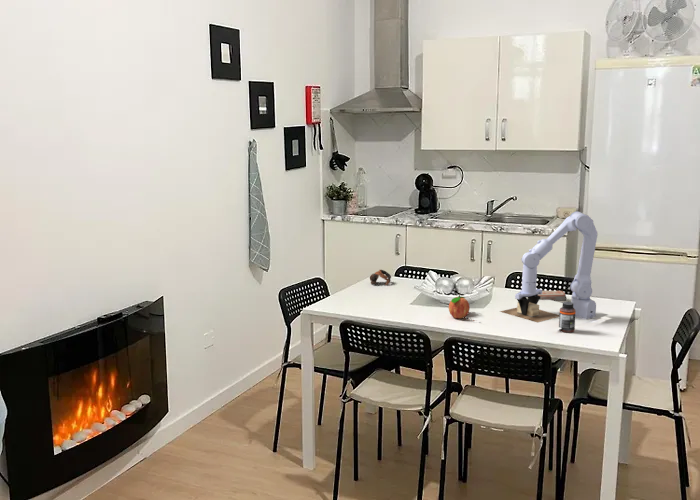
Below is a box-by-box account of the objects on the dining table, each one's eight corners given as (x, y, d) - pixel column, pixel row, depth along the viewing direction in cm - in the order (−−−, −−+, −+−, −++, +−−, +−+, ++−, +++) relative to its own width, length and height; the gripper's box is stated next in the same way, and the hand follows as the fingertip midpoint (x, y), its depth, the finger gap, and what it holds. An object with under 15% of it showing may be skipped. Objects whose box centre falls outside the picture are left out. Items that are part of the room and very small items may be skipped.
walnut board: (562, 319, 287) (562, 315, 287) (537, 326, 278) (537, 322, 278) (524, 308, 303) (524, 305, 303) (499, 314, 294) (499, 311, 294)
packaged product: (562, 288, 321) (568, 294, 312) (561, 299, 322) (567, 304, 312) (522, 288, 321) (528, 294, 312) (522, 299, 322) (527, 304, 313)
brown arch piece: (376, 281, 357) (384, 268, 355) (388, 292, 352) (396, 279, 349) (362, 279, 348) (370, 266, 346) (373, 291, 342) (382, 277, 340)
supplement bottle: (563, 327, 276) (564, 300, 274) (577, 330, 272) (579, 302, 270) (555, 331, 272) (557, 302, 270) (570, 334, 268) (571, 305, 266)
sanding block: (538, 315, 287) (539, 304, 287) (532, 317, 285) (532, 306, 284) (523, 311, 294) (523, 300, 293) (517, 312, 291) (517, 302, 291)
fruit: (473, 317, 291) (474, 294, 289) (461, 322, 284) (461, 298, 282) (456, 313, 296) (456, 290, 295) (443, 318, 289) (444, 294, 288)
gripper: (533, 277, 294) (531, 308, 297) (509, 282, 286) (508, 314, 288) (546, 280, 289) (545, 312, 291) (523, 285, 280) (522, 317, 283)
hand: (527, 313), depth 289 cm, fingers closed on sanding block, 4 cm apart
